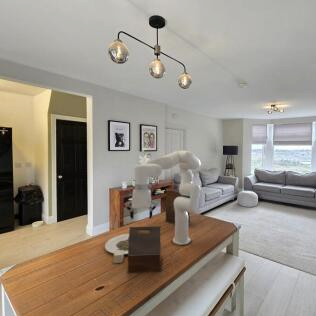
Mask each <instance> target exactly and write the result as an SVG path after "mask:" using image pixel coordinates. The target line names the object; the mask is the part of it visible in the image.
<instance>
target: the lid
mask: <svg viewBox="0 0 316 316" xmlns="http://www.w3.org/2000/svg"><path fill="white" fill-rule="evenodd" d="M161 229H162V228H161V226H160V225H153V226H152V225H151V226H129V232H128V233H129V247H128V254H127V256H128V255H144V254H160V243H161Z"/></svg>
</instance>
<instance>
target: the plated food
mask: <svg viewBox="0 0 316 316" xmlns="http://www.w3.org/2000/svg"><path fill="white" fill-rule="evenodd" d="M128 247H129V232H128V233H123V234H120V235H119V234H118V235H116V236H113V237H111V238H110V239H108V240H107V241H106V242H105V245H104V249H105V250H106V251H107V252H108V253H110V254H113V255H114V254H115V252H116V251H124V255H128Z"/></svg>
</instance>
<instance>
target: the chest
mask: <svg viewBox="0 0 316 316" xmlns="http://www.w3.org/2000/svg"><path fill="white" fill-rule="evenodd" d="M161 262H162V243H161V242H160V254H144V255H128V254H127V272H128V273H137V272H138V273H141V272H157V271H158V272H159V271H161Z"/></svg>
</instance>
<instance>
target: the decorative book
mask: <svg viewBox="0 0 316 316" xmlns="http://www.w3.org/2000/svg"><path fill="white" fill-rule="evenodd" d="M177 197H186V198H190V197H191V196H185V195H182V194H180V193H179V188H178V189H176V188H165V222H169V223H172V224H175V209H174V200H175V199H176V198H177ZM187 213H188V226H190V224H191V216H190V213H189V212H187ZM189 223H190V224H189Z"/></svg>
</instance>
